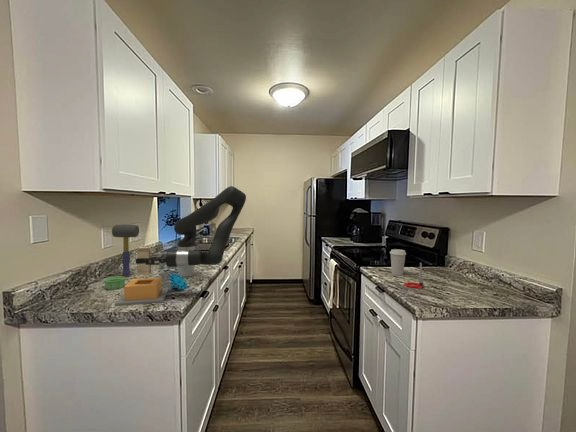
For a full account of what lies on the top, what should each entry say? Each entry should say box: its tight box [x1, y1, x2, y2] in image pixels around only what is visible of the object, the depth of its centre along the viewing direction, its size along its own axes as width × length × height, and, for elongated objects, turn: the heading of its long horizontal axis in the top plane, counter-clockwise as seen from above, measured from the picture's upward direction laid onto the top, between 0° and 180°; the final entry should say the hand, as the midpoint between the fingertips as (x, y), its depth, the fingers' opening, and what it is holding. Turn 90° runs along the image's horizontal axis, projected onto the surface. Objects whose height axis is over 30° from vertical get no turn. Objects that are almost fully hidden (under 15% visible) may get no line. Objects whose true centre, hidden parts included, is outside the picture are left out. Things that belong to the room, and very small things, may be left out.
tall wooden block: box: [136, 246, 152, 277], centre depth 124 cm, size 4×4×12 cm
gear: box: [168, 272, 188, 291], centre depth 138 cm, size 11×6×10 cm
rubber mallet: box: [111, 224, 140, 278], centre depth 159 cm, size 12×8×30 cm, turn 98°
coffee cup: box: [389, 248, 407, 276], centre depth 173 cm, size 10×10×15 cm
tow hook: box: [403, 262, 425, 290], centre depth 148 cm, size 8×13×9 cm
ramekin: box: [104, 275, 126, 290], centre depth 139 cm, size 9×9×4 cm
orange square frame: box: [114, 277, 170, 307], centre depth 125 cm, size 18×18×7 cm
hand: (137, 260), depth 124 cm, fingers closed on tall wooden block, 4 cm apart
